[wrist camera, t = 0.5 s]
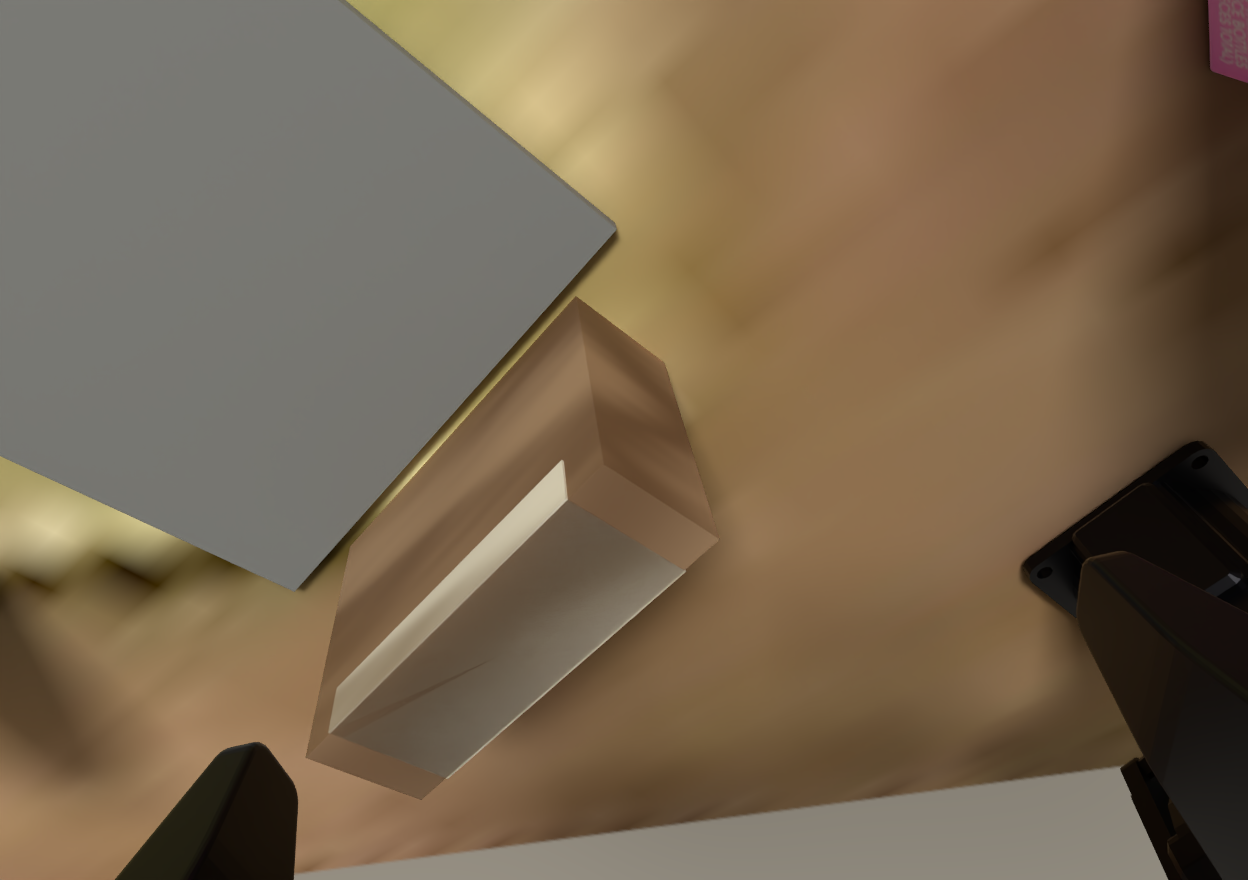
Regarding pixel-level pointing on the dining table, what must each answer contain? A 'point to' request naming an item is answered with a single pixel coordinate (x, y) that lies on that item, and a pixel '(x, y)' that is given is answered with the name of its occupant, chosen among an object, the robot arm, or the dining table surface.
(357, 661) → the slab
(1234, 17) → the gum box
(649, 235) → the dining table surface
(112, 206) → the mat
